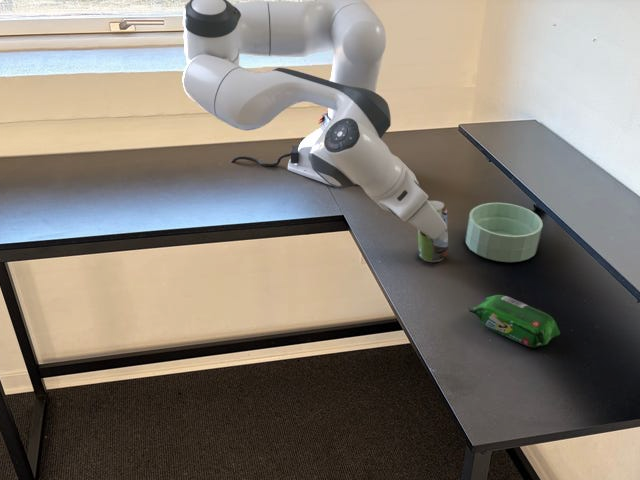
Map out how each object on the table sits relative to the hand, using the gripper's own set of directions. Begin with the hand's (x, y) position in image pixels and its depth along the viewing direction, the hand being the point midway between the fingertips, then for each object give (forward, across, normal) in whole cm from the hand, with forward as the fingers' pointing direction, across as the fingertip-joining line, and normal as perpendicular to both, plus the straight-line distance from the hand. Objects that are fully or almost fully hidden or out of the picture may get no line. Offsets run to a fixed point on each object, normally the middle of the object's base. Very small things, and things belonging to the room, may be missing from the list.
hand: (431, 225), depth 147 cm
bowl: (+18, +1, +7) cm, 19 cm away
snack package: (+7, +28, -4) cm, 30 cm away
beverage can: (+6, 0, -5) cm, 8 cm away
